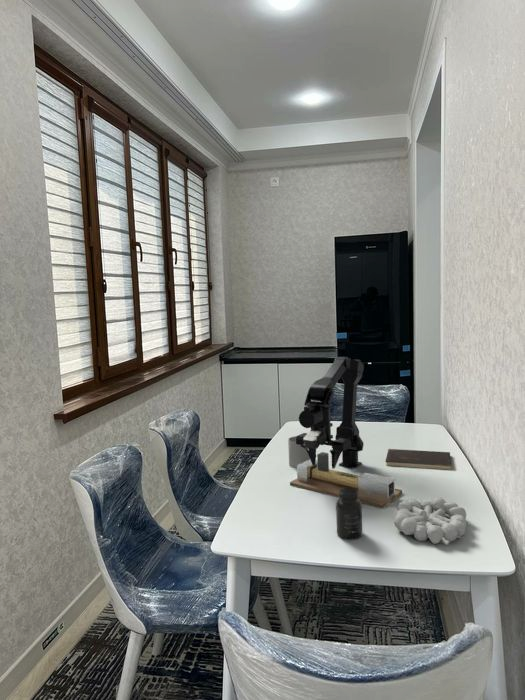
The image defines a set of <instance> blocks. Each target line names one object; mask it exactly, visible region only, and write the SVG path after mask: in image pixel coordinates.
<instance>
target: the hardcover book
mask: <svg viewBox="0 0 525 700" xmlns="http://www.w3.org/2000/svg"><path fill="white" fill-rule="evenodd" d="M386 453H387V454H386V458H385V461H384V462H385V463H386V466H388V467H389V466H391V467H407V468H408V467H409V468H423V469H435V470H436V469H437V470H439V469H440V470H450V469H451V470H452V467H453V465H452V457H451V451H435V450H434V451H432V450H431V451H430V450H415V449H397V448H388V450H387V452H386Z"/></svg>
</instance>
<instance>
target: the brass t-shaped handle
mask: <svg viewBox="0 0 525 700" xmlns="http://www.w3.org/2000/svg"><path fill="white" fill-rule="evenodd" d="M316 460H317V461H318V467H317V466H312V467H310V477H312V478H316V479H321V480H325V481H329V482H334V483H338V484H342V485H346V486H351V487H355V488H358V477H360V476H361V475H358V474H353V473H349V472H344V471H339V470H335V469H331V468H329V467H330V461H329V453H328V452H323V451H322V452H320V453H316Z"/></svg>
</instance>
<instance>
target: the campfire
mask: <svg viewBox="0 0 525 700" xmlns="http://www.w3.org/2000/svg"><path fill="white" fill-rule="evenodd" d="M446 515H447V516H449V517H450V518H447V517H445V516H446ZM466 518H467V511H466V509H465V508H464V507H461V506H459V505H458V503H457V502H453V501H449V502H447V501H446V500H445V499H444V498H443V497H439V496H438V497H435V498H433V500H431V501H429V500H428V499H424V500H421V501H419V500H417V499H413V498H411V499H409V500H408V501H407V500H403V501H401V502H399V503H398V505H397V512H396V516H395V517H394V521H393V525H394V527H395V528H396V529H397V530H398V531H401V532H402V533H403V534H404V535H406V536H414V538H415V539H416V540H417V541H419V542H426V541H427V540H428V539H429V540H430V542H431V543H432V544H434V545H436V544H439V543H440V542H441V540H442V539H444V540H445V541H448V542H450V541H456V539H457V538H459V537H462V536H463V535H465V534H466V533H465V532H466V529H467V526H468V525H467V519H466Z"/></svg>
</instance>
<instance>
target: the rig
mask: <svg viewBox="0 0 525 700" xmlns="http://www.w3.org/2000/svg"><path fill="white" fill-rule="evenodd" d="M312 466H317V467H318V461H317V459H316V462H315V465H312V462H311V460H310V459H309V460H307V461H305V462H303V463H301V464H299V465H297V468H296V476H297V478H296V479H297V480H299V481H303V482H309V481H311V480H312V479H314V478H312V477H310V467H312ZM359 476H360V477H358V493H362V494H366V495H370V496H375V497H379V498H383V499H387V500H388V499H389V498H391V497H392V496H393V495H395V489H396V485H395V483H396V480H395V478H393V477H389V476H383V475H379V474H373V473H368V472H364V473H363V474H361V475H359Z"/></svg>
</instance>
